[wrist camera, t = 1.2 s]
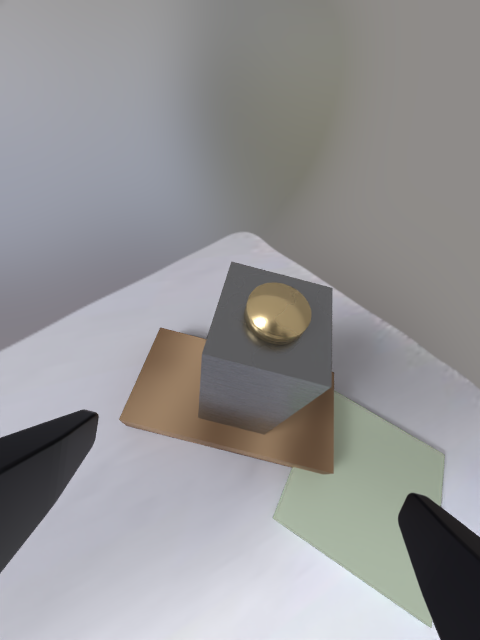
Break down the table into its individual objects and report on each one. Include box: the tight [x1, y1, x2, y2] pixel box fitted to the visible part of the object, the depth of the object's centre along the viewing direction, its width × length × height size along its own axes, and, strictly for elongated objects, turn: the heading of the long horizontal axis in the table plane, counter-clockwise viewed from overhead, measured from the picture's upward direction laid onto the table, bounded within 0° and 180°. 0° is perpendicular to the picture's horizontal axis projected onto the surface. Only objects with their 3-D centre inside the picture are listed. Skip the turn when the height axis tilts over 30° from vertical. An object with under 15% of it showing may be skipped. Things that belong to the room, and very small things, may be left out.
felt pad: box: [273, 391, 445, 628], centre depth 18 cm, size 10×10×1 cm
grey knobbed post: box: [198, 262, 332, 435], centre depth 14 cm, size 4×4×11 cm
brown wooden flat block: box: [119, 328, 334, 474], centre depth 19 cm, size 14×7×2 cm, turn 78°
